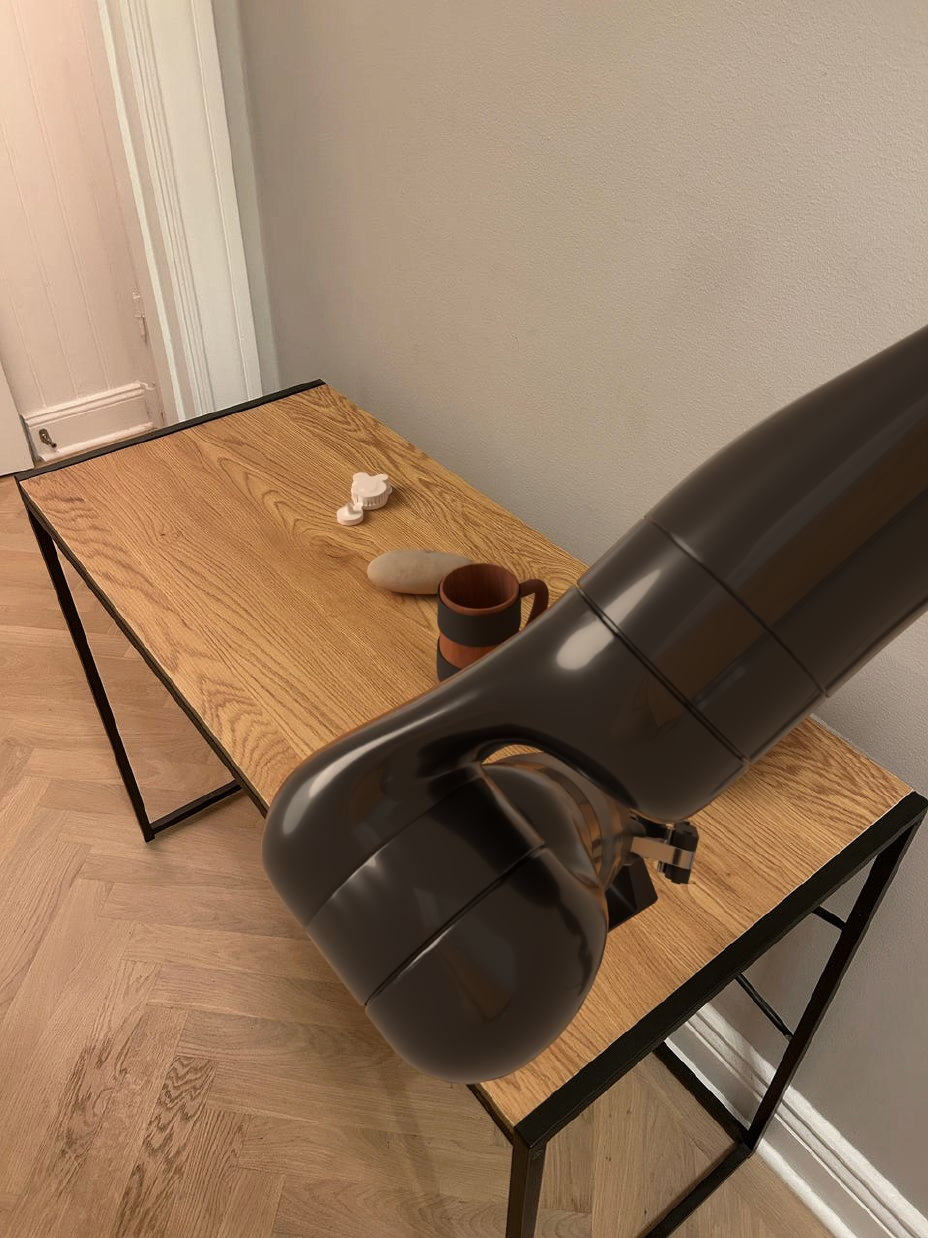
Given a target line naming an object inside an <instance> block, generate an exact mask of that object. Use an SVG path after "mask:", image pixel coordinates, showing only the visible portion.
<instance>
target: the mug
mask: <svg viewBox="0 0 928 1238" xmlns="http://www.w3.org/2000/svg"><path fill="white" fill-rule="evenodd" d="M533 594H534V595H533ZM436 595H437V610H436V611H437V612H436V613H437V614H436V615H437V616H436V624H437V627H438V630H439V635H438V638H437V643H436V665H435V666H436V675H437V679H438V681H439V683H441V682H443V681H444V680H446V679H448V678H449V677H451V676H452V675H454V674H456V673H457V672H459V671H460V670H462V669H464V668H465V667H467V666H468V665H470V664H472V663H473V662H475V661H476V660H478V659H480V658H481V657H483V656H484V655H486V654H487V653H489V652H490V651H492V650H493V649H495V648H496V647H498V646H499V645H501V644H502V643H503V642H505V641H506V640H508V639H509V638H511V637H512V636H514V635H515V634H516V633H518V632H519V631H520V629H521V628H520V627H521V625H522V599H523V598H526V597H528V596H531V595H533V602H532V606H531V610H530V613H529V615H528V618H527V620H526V622H525V624H524V626H523V628H524V627H526V626H527V625H528V624H529V623H531V622H532V621H533V620H534V619H536V618H537V617H538V616H539V615H540V614H541V613H543V612H544V611H545V610H546V609H547V608H548V607H549V601H550V600H549V599H550V591H549V587H548V585H547V584H546V582H545V581H543V580H542V579H539V578H530V579H527V580H525V581H522V582H519V580H518V578H517V577H516V575H515V574H513V572H511V571H510V570H509V569H507V568H505V567H503V566H500V565H497V564H494V563H489V562H474V563H472V564H466V565H463V566H460V567H457V568H455V569H453V570H452V571H450V572H449V573H447V574H446V575H445V576H444V578H443V579H442V580H441V582H440V583H439V585H438V589H437V594H436Z"/></svg>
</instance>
